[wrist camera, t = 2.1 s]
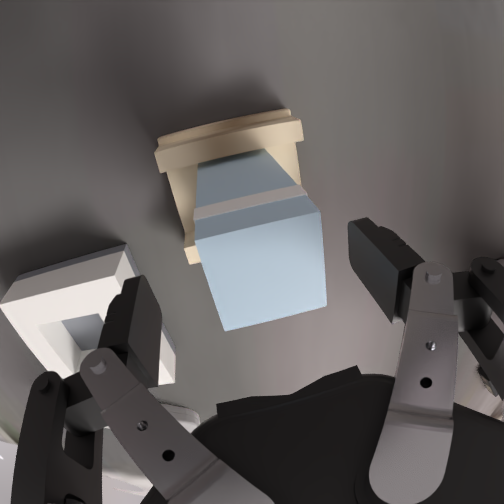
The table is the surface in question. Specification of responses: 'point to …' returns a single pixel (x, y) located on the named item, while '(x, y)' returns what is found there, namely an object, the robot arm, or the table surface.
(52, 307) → the socket
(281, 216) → the plug
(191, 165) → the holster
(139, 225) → the table surface
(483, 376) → the portable cd player
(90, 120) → the table surface
